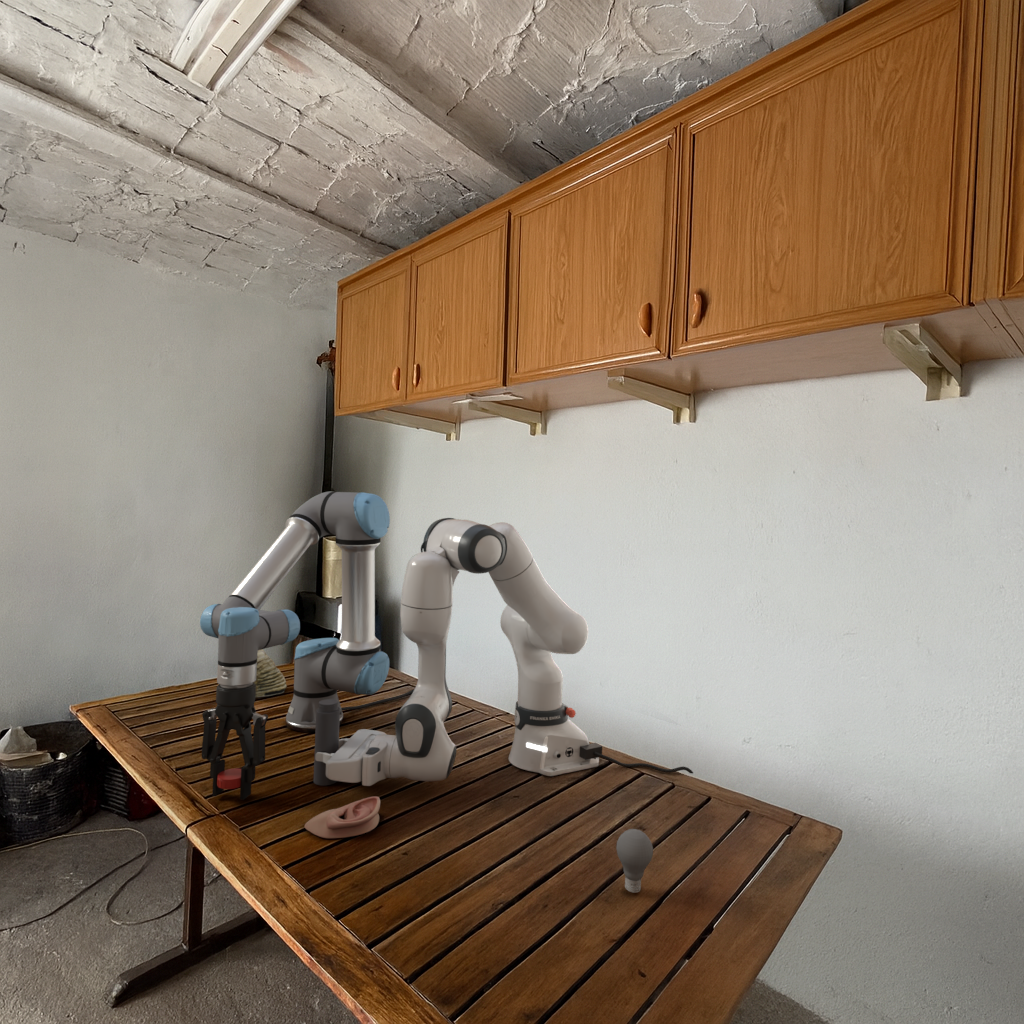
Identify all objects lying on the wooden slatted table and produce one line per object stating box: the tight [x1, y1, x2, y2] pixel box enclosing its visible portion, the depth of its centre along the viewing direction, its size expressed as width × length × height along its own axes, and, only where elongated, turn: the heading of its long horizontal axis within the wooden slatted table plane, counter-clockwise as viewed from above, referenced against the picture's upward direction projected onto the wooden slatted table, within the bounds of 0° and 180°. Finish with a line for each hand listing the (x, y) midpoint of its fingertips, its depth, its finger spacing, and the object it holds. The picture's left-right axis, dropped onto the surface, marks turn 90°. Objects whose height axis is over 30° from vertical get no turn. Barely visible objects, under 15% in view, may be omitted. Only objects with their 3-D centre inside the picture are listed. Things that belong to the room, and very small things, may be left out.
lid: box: [217, 767, 241, 790], centre depth 131 cm, size 6×6×2 cm
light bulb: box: [615, 828, 654, 894], centre depth 106 cm, size 6×6×10 cm
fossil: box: [254, 649, 288, 698], centre depth 198 cm, size 9×18×15 cm, turn 132°
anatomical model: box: [304, 796, 381, 839], centre depth 123 cm, size 13×4×12 cm
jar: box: [312, 699, 341, 787], centre depth 141 cm, size 5×5×18 cm
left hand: (231, 794), depth 131 cm, fingers closed on lid, 5 cm apart
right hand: (322, 749), depth 141 cm, fingers closed on jar, 5 cm apart
